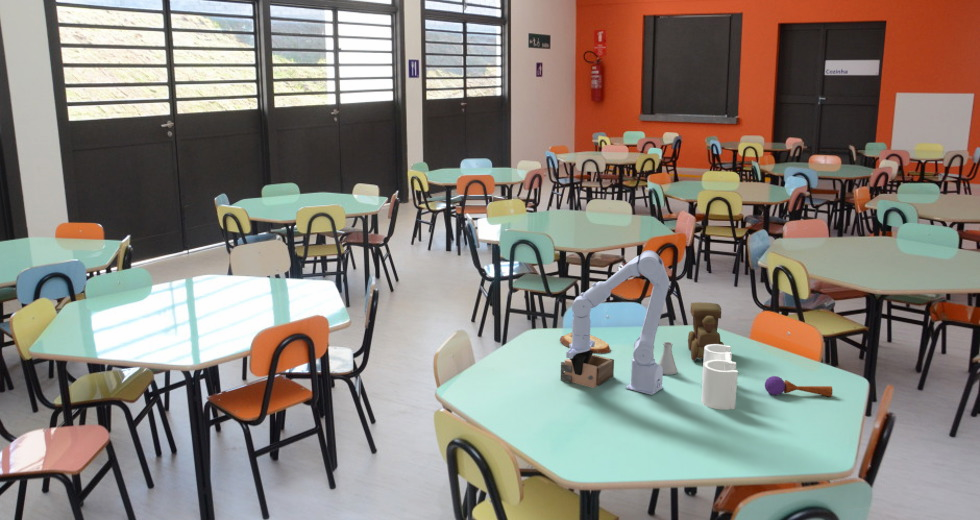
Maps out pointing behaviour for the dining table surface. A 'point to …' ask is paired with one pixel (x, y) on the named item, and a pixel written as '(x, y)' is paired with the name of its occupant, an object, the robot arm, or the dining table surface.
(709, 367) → the bracket
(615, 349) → the dining table surface
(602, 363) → the cabinet
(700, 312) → the wooden toy train
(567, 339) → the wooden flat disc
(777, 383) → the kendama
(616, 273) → the robot arm
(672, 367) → the flask
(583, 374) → the door
